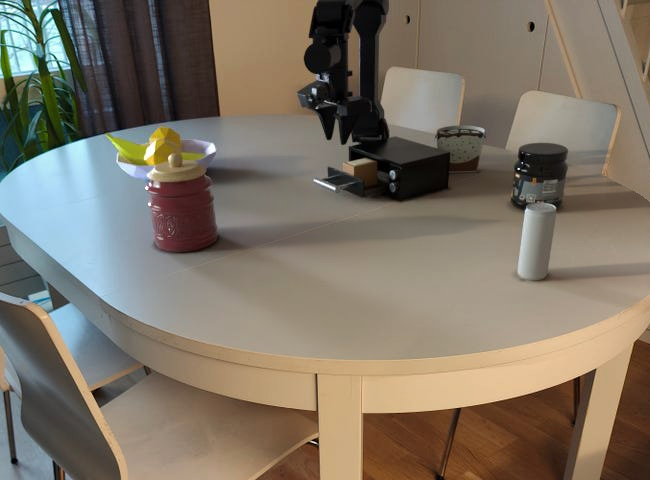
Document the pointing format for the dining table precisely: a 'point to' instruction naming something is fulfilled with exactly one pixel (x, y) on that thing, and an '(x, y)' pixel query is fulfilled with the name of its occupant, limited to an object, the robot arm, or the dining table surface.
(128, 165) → the fruit bowl
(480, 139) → the food container
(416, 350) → the dining table surface
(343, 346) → the dining table surface
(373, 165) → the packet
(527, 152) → the supplement container
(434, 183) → the toaster oven
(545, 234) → the beverage can
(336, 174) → the tray
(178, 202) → the kitchen canister
